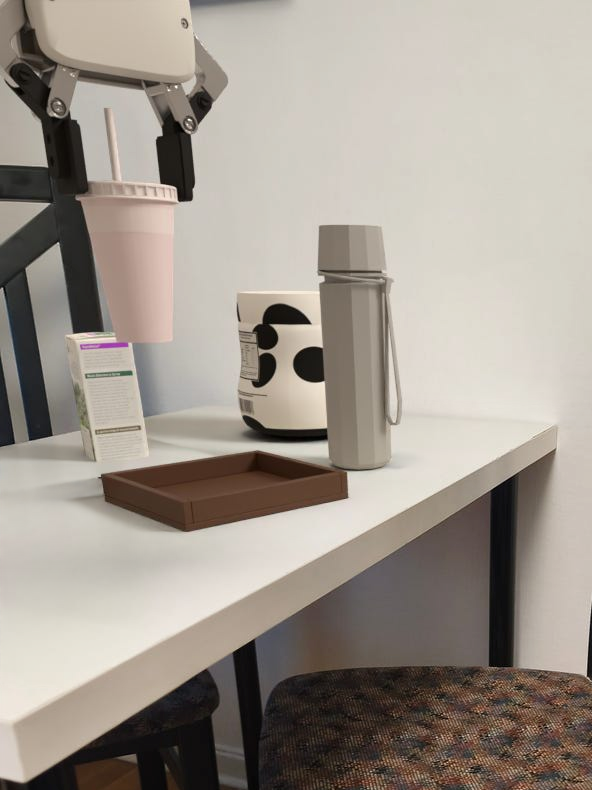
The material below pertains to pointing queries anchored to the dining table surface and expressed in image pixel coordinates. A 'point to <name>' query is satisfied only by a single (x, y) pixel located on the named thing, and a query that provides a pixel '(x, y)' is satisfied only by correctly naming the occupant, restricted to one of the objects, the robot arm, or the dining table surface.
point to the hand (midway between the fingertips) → (127, 195)
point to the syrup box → (107, 396)
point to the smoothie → (133, 249)
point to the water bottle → (356, 345)
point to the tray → (223, 488)
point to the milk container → (281, 363)
